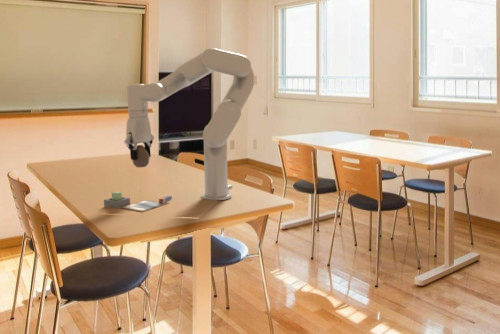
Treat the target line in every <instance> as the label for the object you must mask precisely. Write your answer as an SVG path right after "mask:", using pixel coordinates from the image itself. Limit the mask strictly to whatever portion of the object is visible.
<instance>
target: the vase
mask: <svg viewBox="0 0 500 334" xmlns="http://www.w3.org/2000/svg"><path fill="white" fill-rule="evenodd" d="M144 147H145V146H144V144H143V145H142V144H141V145H140V144H139V145H138V144H137V147H136V150H137V158H138V159H137V160H131V161H132V164H133V165H134V166H135V167H136V168H146V167H147V166H148V165H149V163H150V157H149V154H148V152H147V150H146V149H145V148H144Z"/></svg>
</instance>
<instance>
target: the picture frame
mask: <svg viewBox="0 0 500 334" xmlns="http://www.w3.org/2000/svg"><path fill="white" fill-rule="evenodd" d="M166 205H169V202H165V203H159V201H158V200H157V201H156V200H152V199H151V200H149V199H144V200H141V201H138V202H135V203H130V204H129V205H126V206H123V207H119V208H118V209H120V210H126V211H131V212H137V213H145V212H148V211H150V210H153V209H157V208H160V207H163V206H166Z"/></svg>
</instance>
